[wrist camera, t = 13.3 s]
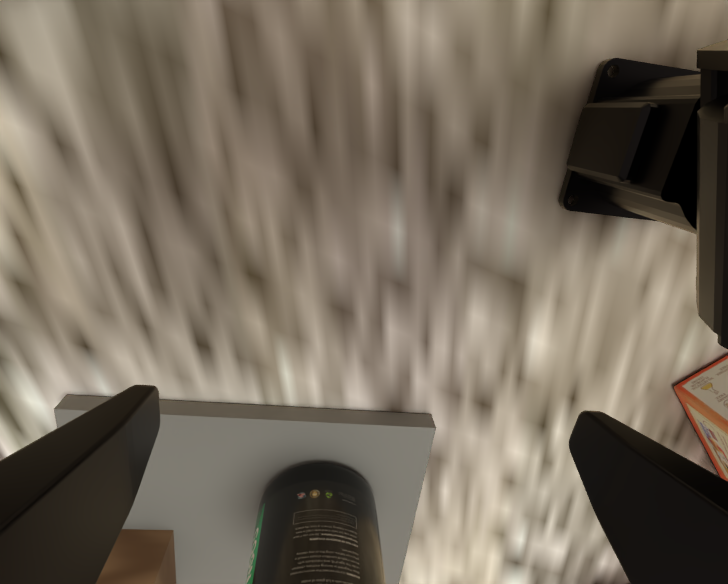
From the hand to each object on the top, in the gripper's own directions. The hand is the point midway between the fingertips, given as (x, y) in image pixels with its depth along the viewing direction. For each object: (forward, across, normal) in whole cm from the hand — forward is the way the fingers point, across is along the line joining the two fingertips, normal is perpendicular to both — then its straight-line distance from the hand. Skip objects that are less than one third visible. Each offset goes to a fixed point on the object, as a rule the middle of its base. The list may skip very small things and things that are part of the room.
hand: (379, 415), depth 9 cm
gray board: (+13, +4, +17) cm, 22 cm away
